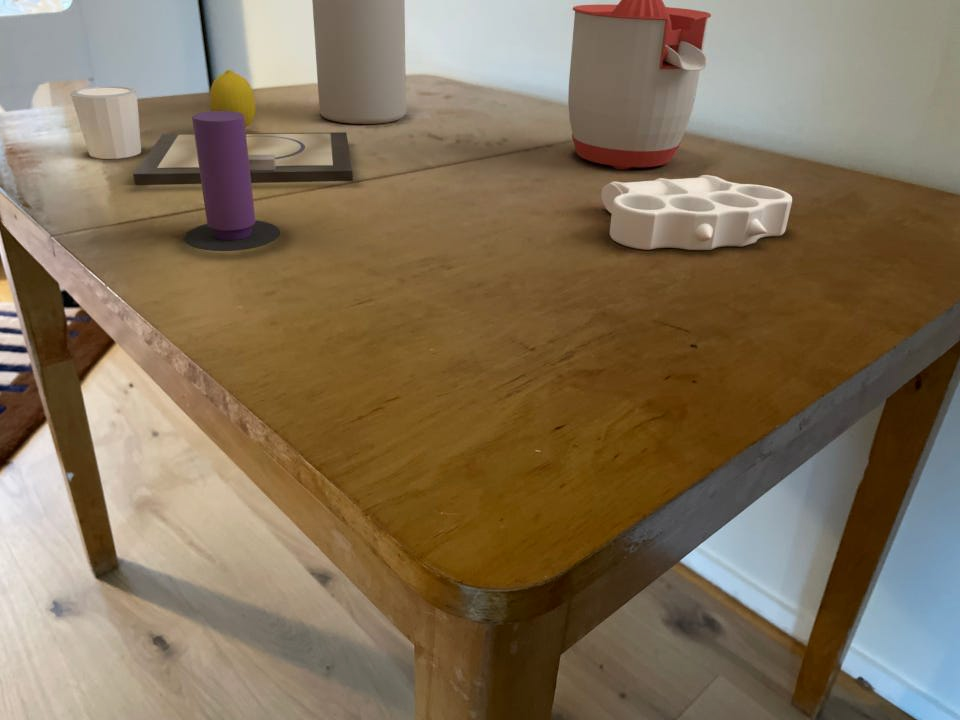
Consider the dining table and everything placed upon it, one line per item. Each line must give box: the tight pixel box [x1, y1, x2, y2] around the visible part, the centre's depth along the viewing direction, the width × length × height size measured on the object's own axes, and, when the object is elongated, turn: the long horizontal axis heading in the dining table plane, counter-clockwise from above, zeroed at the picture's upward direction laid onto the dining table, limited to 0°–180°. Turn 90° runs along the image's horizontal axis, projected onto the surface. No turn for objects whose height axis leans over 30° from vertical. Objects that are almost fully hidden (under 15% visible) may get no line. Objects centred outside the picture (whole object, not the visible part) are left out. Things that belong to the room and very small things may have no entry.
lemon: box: [209, 69, 256, 129], centre depth 100 cm, size 6×6×8 cm
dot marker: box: [191, 110, 256, 240], centre depth 65 cm, size 4×4×10 cm
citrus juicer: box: [567, 0, 712, 170], centre depth 92 cm, size 16×17×20 cm
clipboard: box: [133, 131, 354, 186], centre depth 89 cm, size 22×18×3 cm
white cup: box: [70, 86, 142, 160], centre depth 90 cm, size 7×7×7 cm
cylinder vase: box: [311, 0, 407, 125], centre depth 108 cm, size 12×12×25 cm
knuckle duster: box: [600, 174, 793, 251], centre depth 74 cm, size 3×18×15 cm
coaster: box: [183, 219, 281, 252], centre depth 68 cm, size 8×8×1 cm
